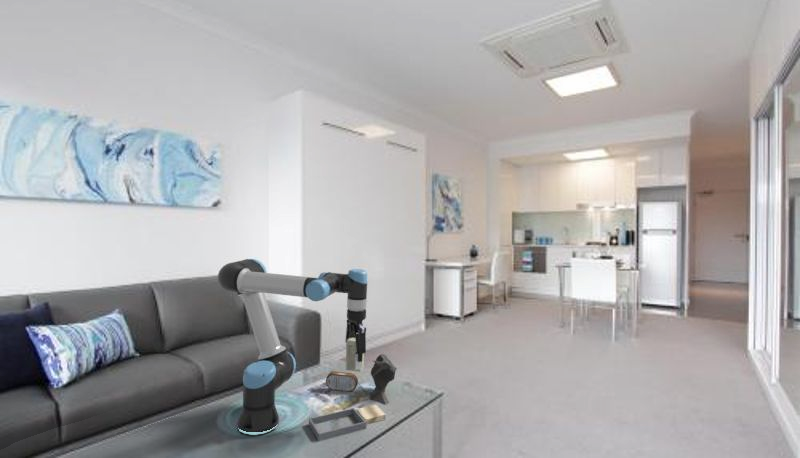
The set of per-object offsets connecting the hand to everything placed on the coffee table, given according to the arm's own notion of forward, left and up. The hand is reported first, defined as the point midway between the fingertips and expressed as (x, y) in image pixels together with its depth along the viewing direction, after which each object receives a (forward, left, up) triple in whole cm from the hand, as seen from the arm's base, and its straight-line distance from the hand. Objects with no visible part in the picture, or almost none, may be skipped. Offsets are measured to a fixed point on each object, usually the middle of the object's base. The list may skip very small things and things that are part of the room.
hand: (354, 365), depth 162 cm
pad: (+8, 0, -23) cm, 24 cm away
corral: (-7, -1, -23) cm, 24 cm away
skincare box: (0, 0, -2) cm, 2 cm away
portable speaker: (+6, +27, -23) cm, 36 cm away
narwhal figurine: (+22, +16, -23) cm, 35 cm away
